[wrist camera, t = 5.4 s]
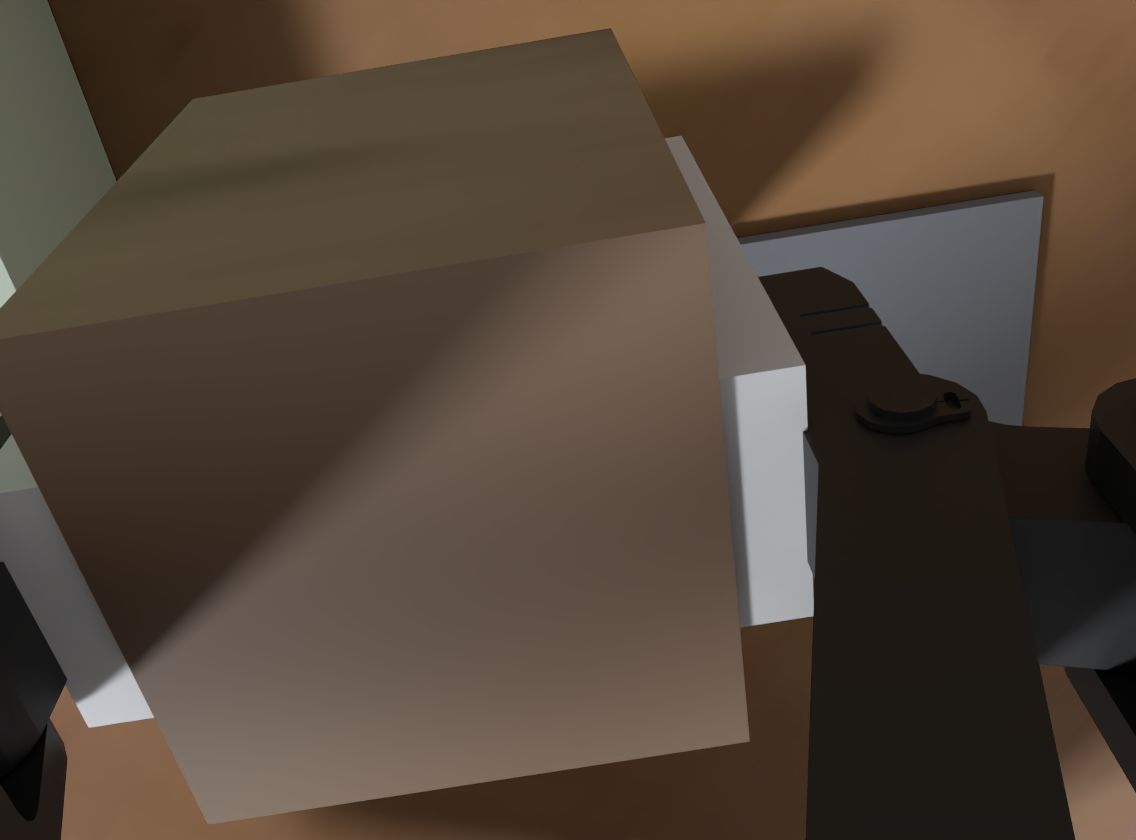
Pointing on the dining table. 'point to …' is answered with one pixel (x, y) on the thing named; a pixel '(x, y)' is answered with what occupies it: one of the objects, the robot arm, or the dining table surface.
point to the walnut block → (396, 431)
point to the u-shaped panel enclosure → (41, 143)
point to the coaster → (937, 285)
